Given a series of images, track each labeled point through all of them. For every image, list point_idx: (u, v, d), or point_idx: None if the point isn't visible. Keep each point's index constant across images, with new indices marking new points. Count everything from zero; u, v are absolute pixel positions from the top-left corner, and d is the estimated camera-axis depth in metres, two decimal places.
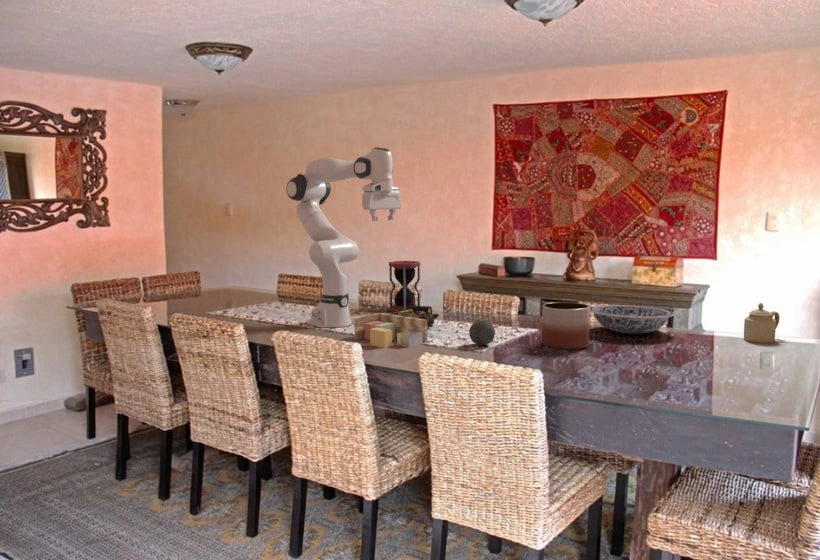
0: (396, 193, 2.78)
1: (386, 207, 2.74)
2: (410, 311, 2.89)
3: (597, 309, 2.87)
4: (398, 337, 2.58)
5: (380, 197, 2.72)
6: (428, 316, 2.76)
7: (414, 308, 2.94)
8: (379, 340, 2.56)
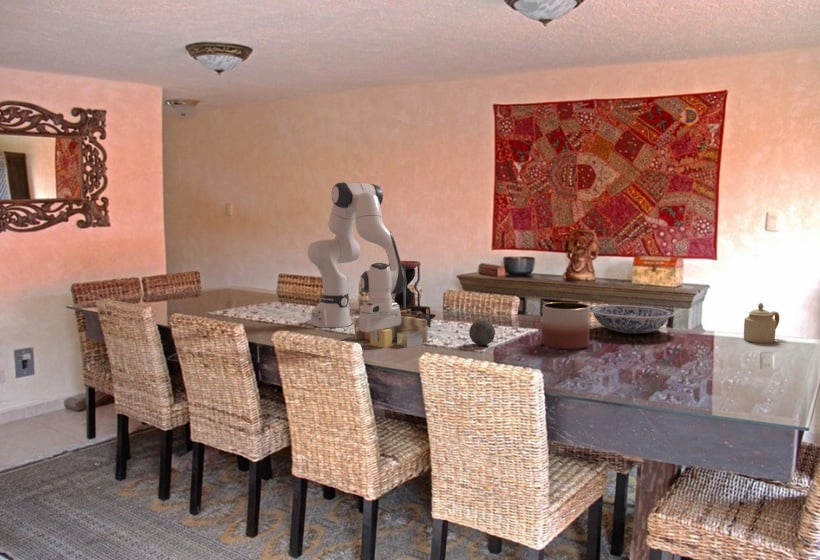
0: (395, 310, 2.61)
1: (385, 327, 2.57)
2: (408, 311, 2.90)
3: (597, 309, 2.87)
4: (398, 337, 2.59)
5: (378, 317, 2.54)
6: (424, 316, 2.76)
7: (413, 308, 2.94)
8: (379, 340, 2.56)
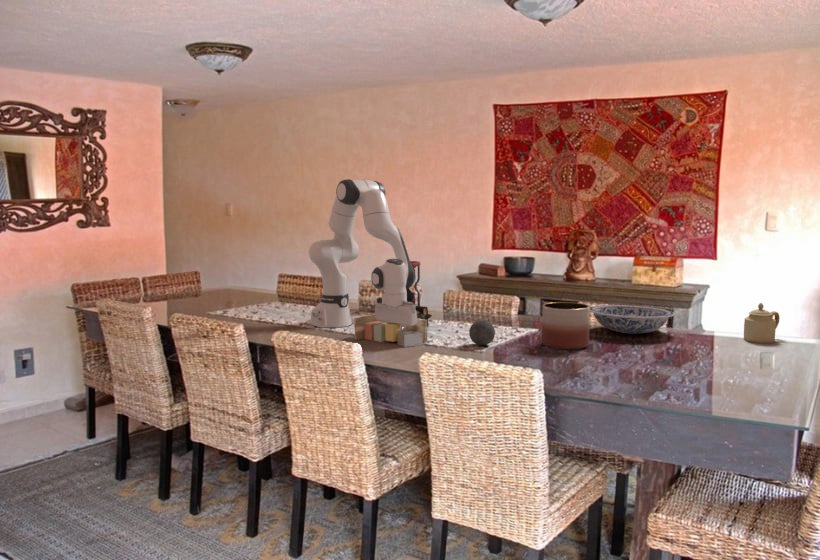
0: (405, 308, 2.57)
1: (394, 321, 2.62)
2: None
3: (597, 309, 2.87)
4: (398, 336, 2.60)
5: (388, 310, 2.64)
6: (420, 316, 2.76)
7: None
8: None
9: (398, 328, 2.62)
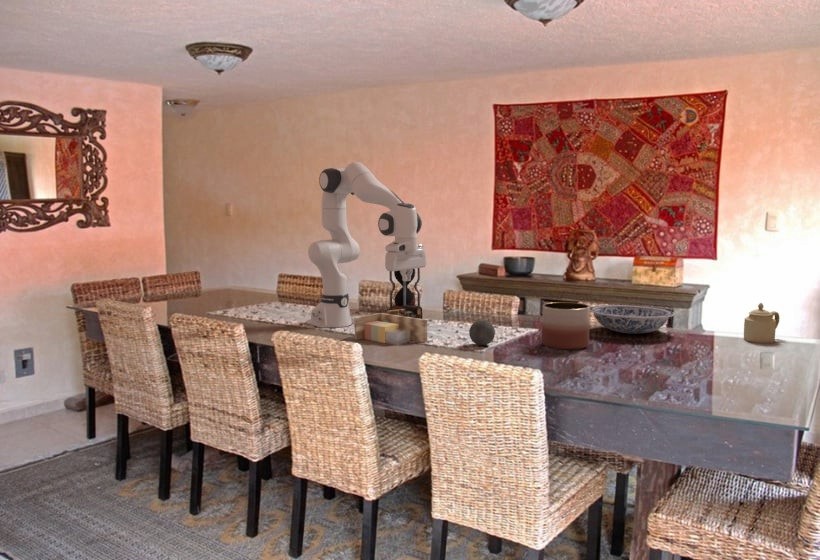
0: (421, 251, 2.60)
1: (411, 267, 2.56)
2: (400, 311, 2.91)
3: (597, 309, 2.87)
4: (386, 335, 2.62)
5: (404, 257, 2.54)
6: (410, 316, 2.76)
7: (407, 307, 2.95)
8: None
9: None
